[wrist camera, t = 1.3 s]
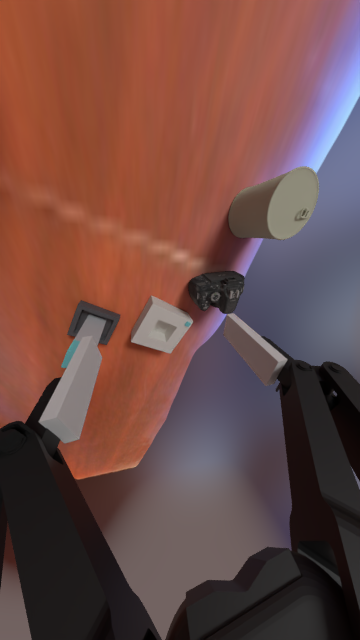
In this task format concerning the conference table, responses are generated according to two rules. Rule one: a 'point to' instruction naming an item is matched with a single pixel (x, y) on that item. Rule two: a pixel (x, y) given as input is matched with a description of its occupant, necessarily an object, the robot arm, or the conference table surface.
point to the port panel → (160, 325)
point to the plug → (85, 335)
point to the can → (275, 206)
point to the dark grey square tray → (88, 308)
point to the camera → (217, 290)
